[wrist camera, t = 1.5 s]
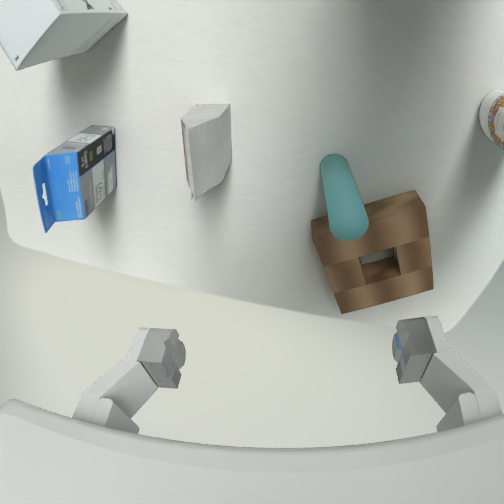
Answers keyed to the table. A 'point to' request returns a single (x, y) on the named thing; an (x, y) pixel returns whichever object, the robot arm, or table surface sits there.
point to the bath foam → (493, 116)
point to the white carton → (206, 146)
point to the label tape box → (76, 175)
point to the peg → (342, 199)
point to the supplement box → (54, 28)
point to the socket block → (374, 240)
